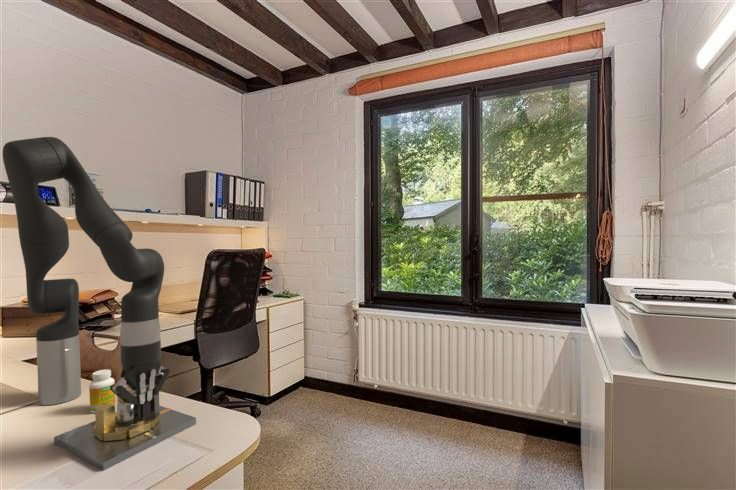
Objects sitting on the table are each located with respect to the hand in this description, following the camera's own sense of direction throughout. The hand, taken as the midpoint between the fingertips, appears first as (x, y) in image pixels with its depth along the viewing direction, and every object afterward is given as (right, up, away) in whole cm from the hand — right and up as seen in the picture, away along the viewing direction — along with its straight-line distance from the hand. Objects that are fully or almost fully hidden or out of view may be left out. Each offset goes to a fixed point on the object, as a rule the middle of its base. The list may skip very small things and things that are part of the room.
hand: (142, 418), depth 83 cm
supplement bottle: (-20, -5, +16) cm, 26 cm away
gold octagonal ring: (-5, -3, +3) cm, 7 cm away
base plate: (-5, -5, +3) cm, 7 cm away
